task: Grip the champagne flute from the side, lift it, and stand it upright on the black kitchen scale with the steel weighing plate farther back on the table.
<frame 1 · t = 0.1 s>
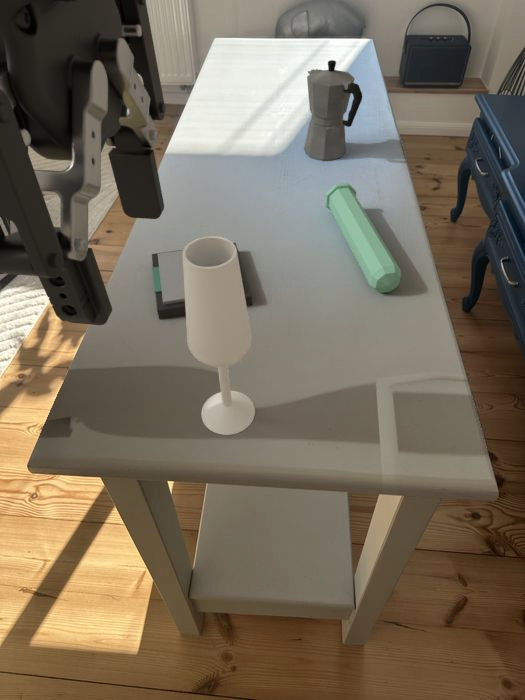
hand: (120, 261, 25), 34 cm above the table, tool pointing down, fingers open, 8 cm apart
champagne flute: (228, 412, 60), on the table
scale: (200, 282, 77), on the table
coffeepot: (327, 154, 106), on the table
container: (359, 250, 82), on the table
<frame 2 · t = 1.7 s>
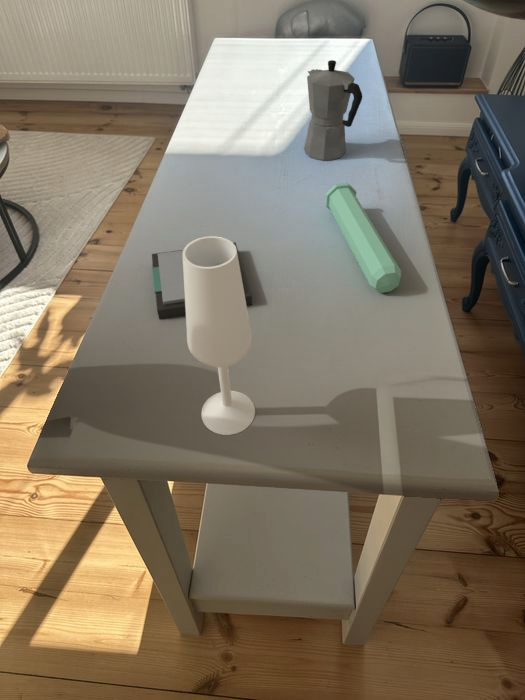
nothing on the table moved.
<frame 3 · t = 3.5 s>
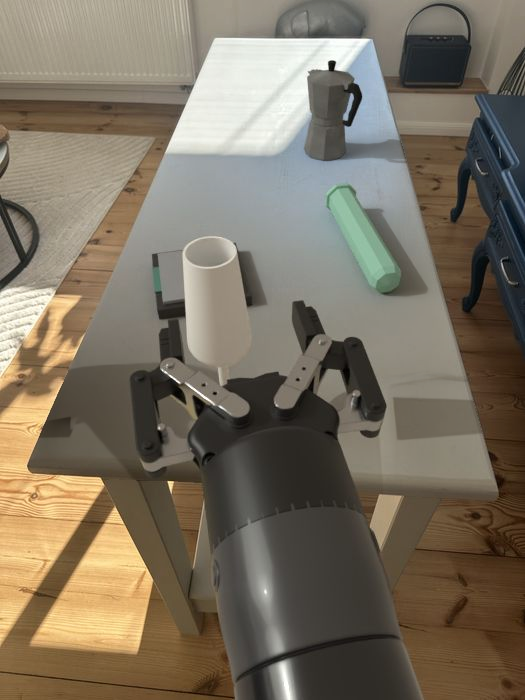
hand: (237, 318, 33), 26 cm above the table, tool horizontal, fingers open, 8 cm apart
nothing on the table moved.
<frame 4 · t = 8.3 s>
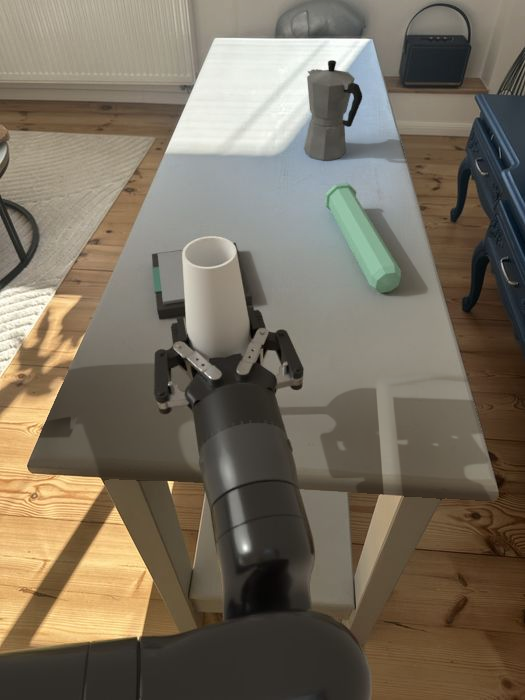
hand: (215, 317, 51), 14 cm above the table, tool horizontal, fingers closed on champagne flute, 6 cm apart
champagne flute: (228, 412, 60), on the table, touching gripper
everything else where it was.
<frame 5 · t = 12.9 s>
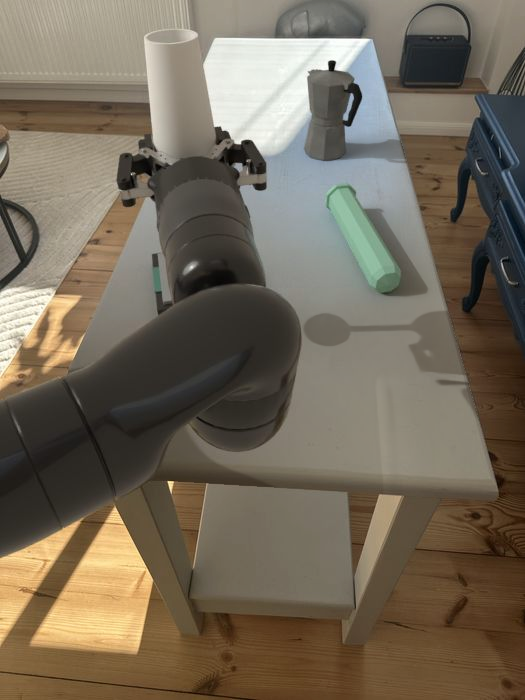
hand: (184, 139, 51), 27 cm above the table, tool horizontal, fingers closed on champagne flute, 6 cm apart
champagne flute: (201, 261, 60), point 12 cm above the table, touching gripper
everything else where it was.
when the fingers open (16 cm above the table, at t = 17.8 s): champagne flute stays where it is, resting on scale.
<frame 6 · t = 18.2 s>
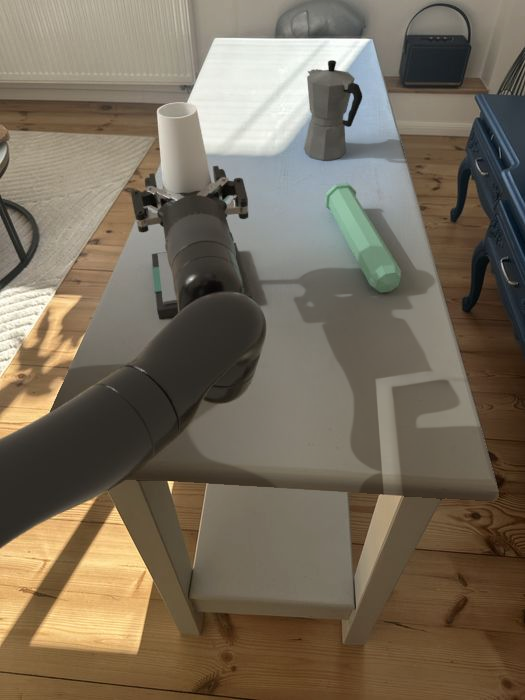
hand: (184, 176, 65), 17 cm above the table, tool horizontal, fingers open, 8 cm apart
champagne flute: (199, 272, 75), point 2 cm above the table, touching scale
everything else where it was.
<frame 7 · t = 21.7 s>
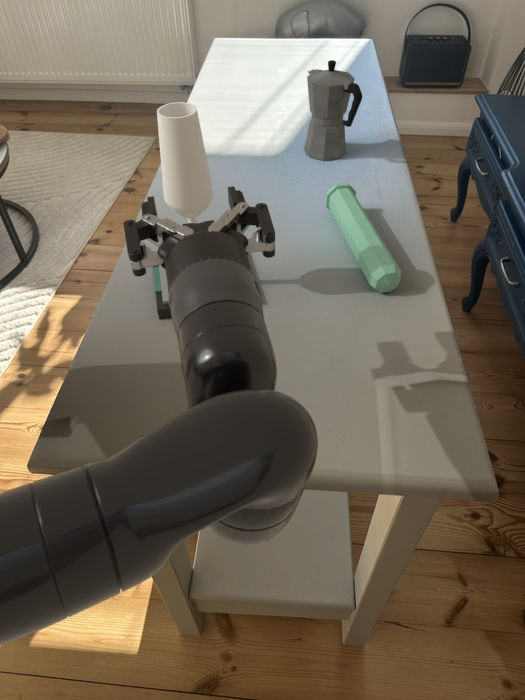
hand: (192, 199, 52), 22 cm above the table, tool horizontal, fingers open, 8 cm apart
nothing on the table moved.
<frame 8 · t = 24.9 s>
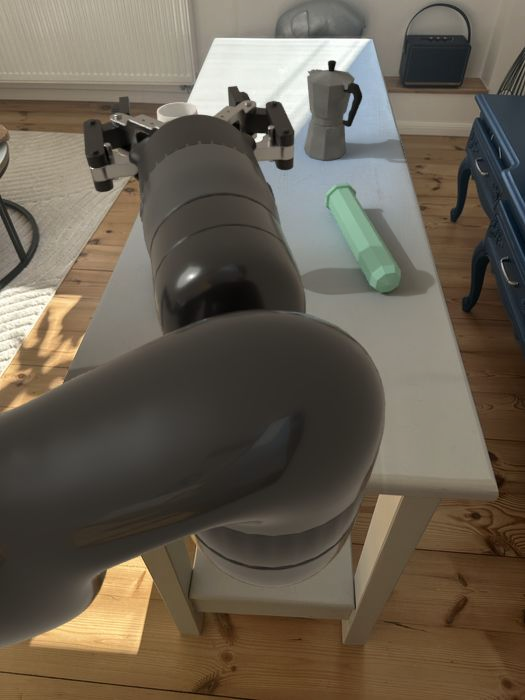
hand: (180, 104, 39), 34 cm above the table, tool horizontal, fingers open, 8 cm apart
nothing on the table moved.
at the end: champagne flute inside the target area on the scale (0.1 cm from its centre), point 2.2 cm above the scale's base; champagne flute tilted 0°; the gripper is holding nothing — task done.
